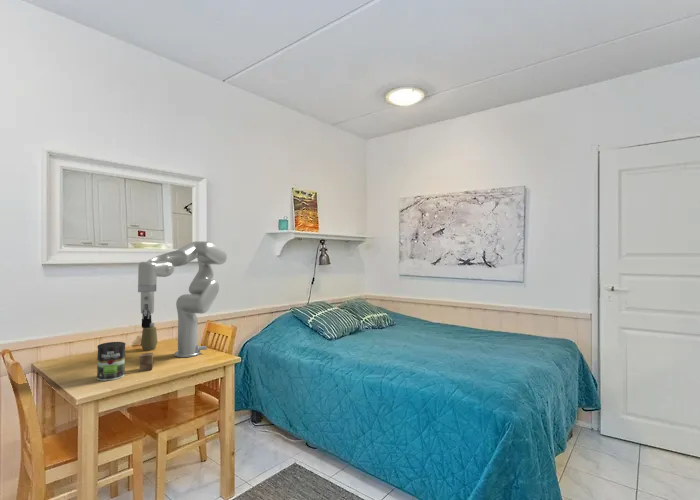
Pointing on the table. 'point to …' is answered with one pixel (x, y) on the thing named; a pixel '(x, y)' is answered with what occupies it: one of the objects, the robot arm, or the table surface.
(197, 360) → the table surface
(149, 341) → the squeeze bottle
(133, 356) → the table surface
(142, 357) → the walnut block
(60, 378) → the table surface
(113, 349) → the coffee can
